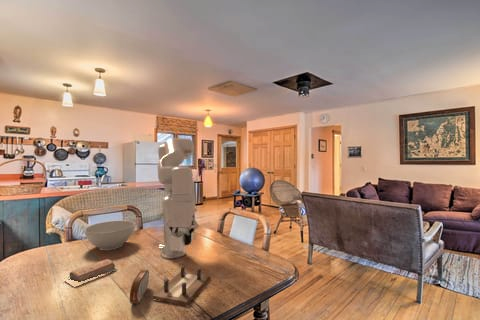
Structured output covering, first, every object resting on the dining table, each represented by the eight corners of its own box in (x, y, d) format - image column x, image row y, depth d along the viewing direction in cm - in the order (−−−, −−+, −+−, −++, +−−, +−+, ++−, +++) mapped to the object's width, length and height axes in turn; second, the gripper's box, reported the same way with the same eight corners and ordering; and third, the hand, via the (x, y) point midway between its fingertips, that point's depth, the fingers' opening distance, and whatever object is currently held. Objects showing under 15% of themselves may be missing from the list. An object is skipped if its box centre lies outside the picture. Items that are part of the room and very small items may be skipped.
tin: (142, 286, 100) (142, 265, 100) (150, 285, 100) (150, 265, 100) (128, 309, 85) (128, 284, 85) (138, 308, 85) (137, 284, 85)
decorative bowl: (132, 236, 163) (132, 218, 163) (139, 249, 140) (138, 228, 140) (84, 244, 149) (84, 224, 149) (83, 259, 126) (83, 236, 126)
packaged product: (106, 256, 119) (117, 261, 114) (106, 266, 119) (117, 271, 114) (63, 271, 104) (74, 277, 99) (63, 282, 104) (74, 289, 99)
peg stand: (152, 299, 90) (152, 284, 90) (181, 274, 109) (181, 262, 109) (186, 306, 86) (186, 290, 86) (210, 278, 105) (209, 266, 105)
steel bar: (170, 250, 92) (169, 237, 92) (184, 238, 105) (184, 226, 105) (180, 250, 91) (180, 237, 91) (193, 238, 105) (193, 227, 105)
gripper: (158, 198, 97) (158, 244, 97) (196, 200, 92) (197, 249, 92) (168, 196, 104) (169, 239, 104) (205, 197, 99) (205, 242, 99)
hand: (182, 243), depth 98 cm, fingers closed on steel bar, 4 cm apart
